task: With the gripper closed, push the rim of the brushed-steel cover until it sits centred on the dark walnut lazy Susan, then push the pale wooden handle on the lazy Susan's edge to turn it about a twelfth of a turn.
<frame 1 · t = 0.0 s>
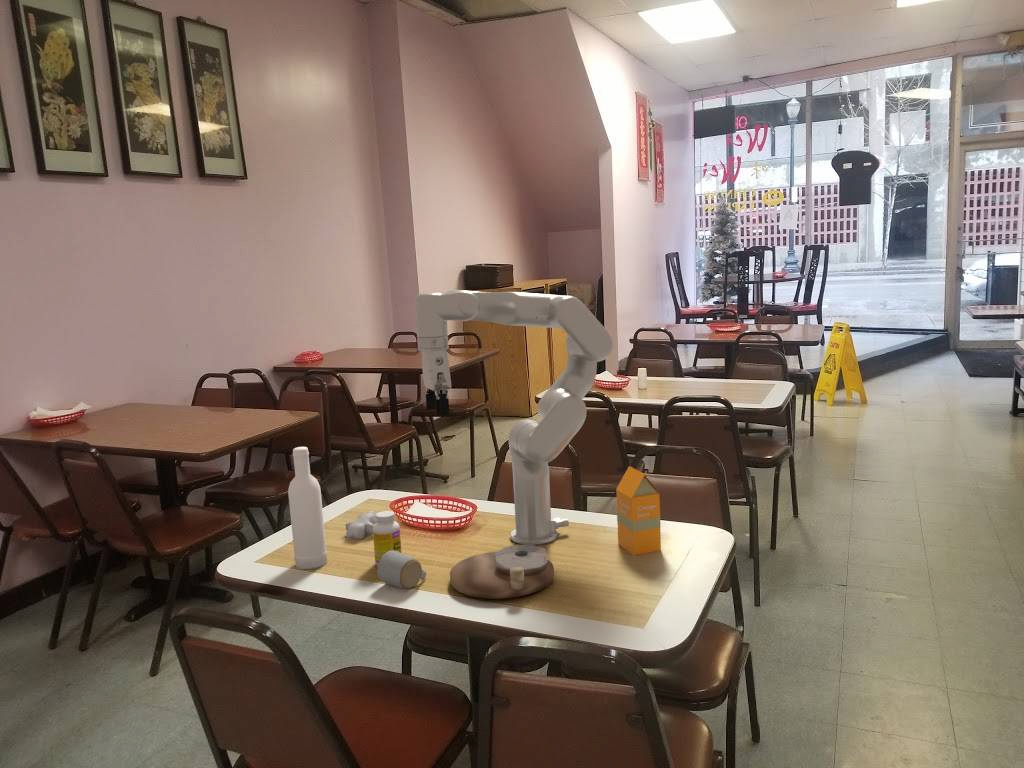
hand: (437, 411, 192), 37 cm above the table, tool pointing down, fingers open, 9 cm apart
steel cover: (522, 566, 180), point 2 cm above the table, touching lazy susan
supplement bottle: (389, 564, 193), on the table
ceramic mug: (405, 584, 181), on the table
lazy susan: (501, 564, 178), point 4 cm above the table, hinge at 0.0°, touching steel cover
bottle: (311, 564, 196), on the table
bunny figurine: (367, 533, 217), on the table
orange juice: (639, 547, 195), on the table
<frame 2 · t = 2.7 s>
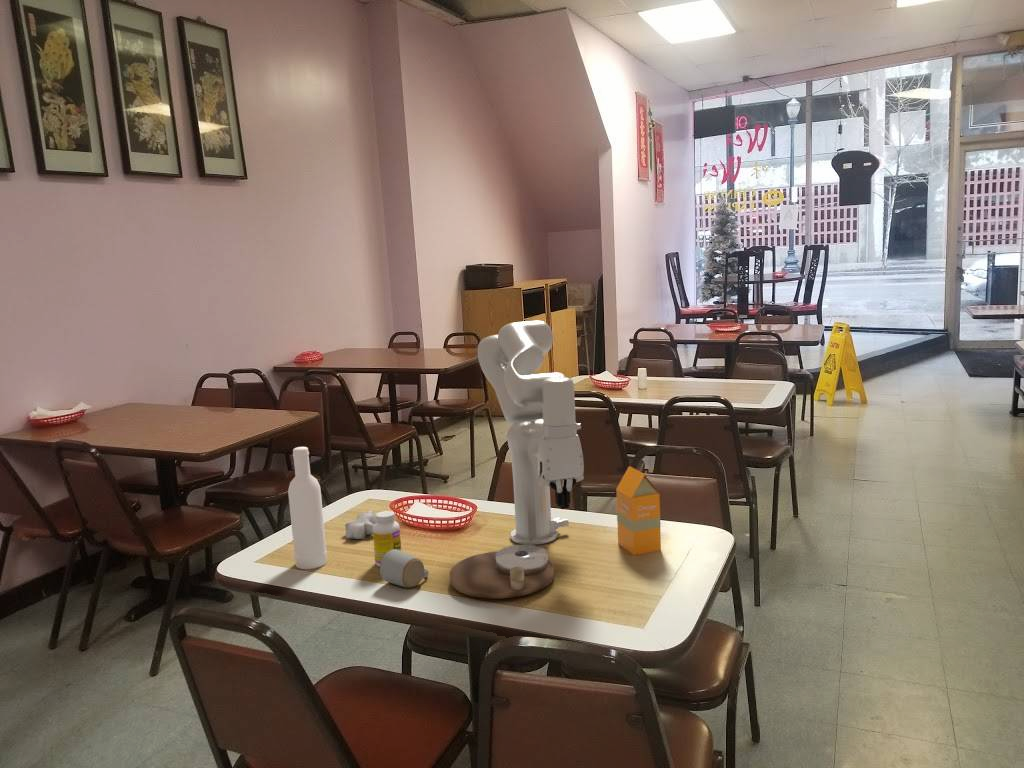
hand: (563, 507, 182), 15 cm above the table, tool pointing down, fingers closed
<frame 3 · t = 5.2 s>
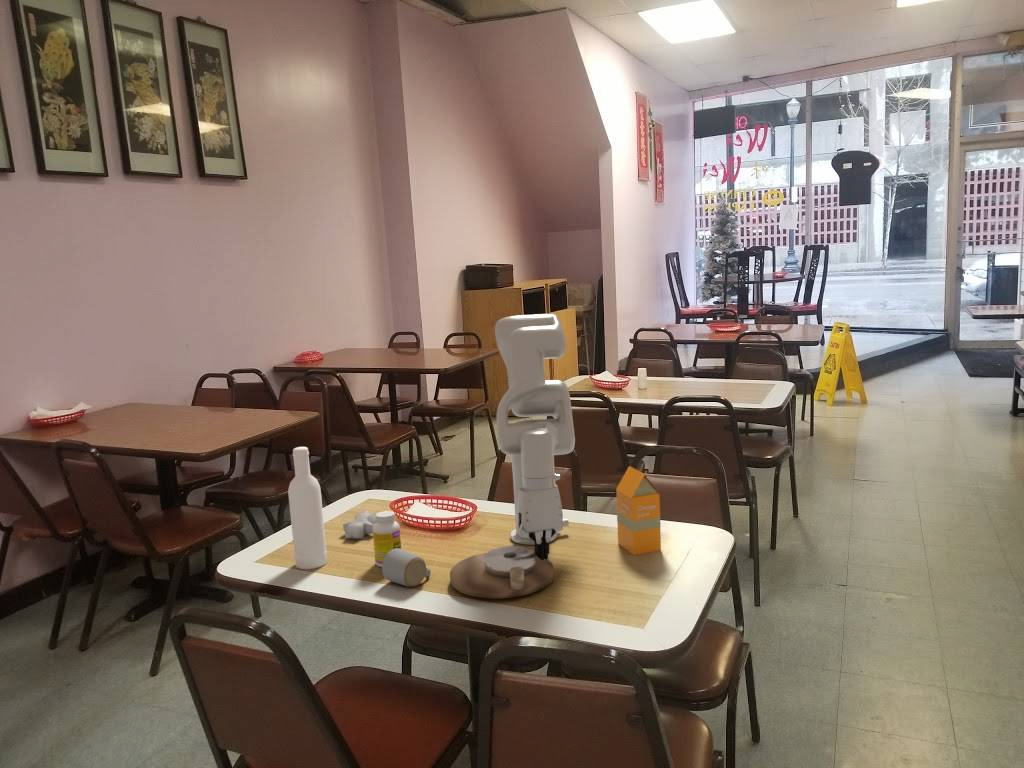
hand: (542, 557, 182), 4 cm above the table, tool pointing down, fingers closed
steel cover: (510, 567, 180), point 2 cm above the table, touching lazy susan
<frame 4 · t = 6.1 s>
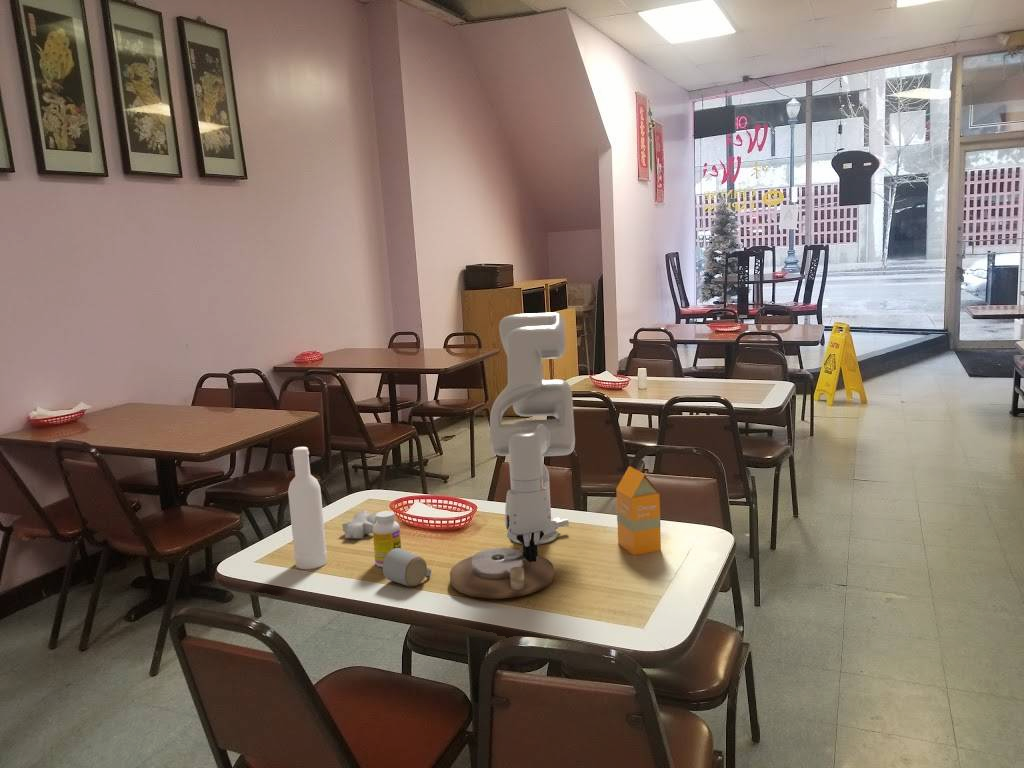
hand: (530, 559, 181), 4 cm above the table, tool pointing down, fingers closed
steel cover: (498, 569, 179), point 2 cm above the table, touching lazy susan
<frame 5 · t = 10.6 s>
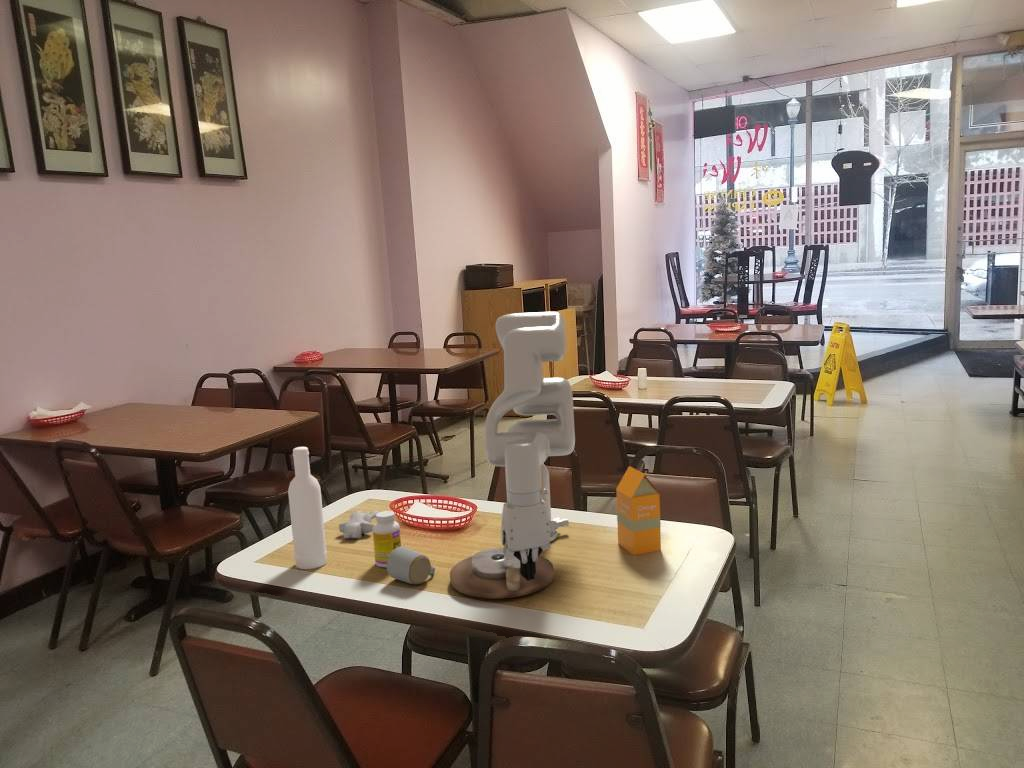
hand: (528, 577, 169), 4 cm above the table, tool pointing down, fingers closed
ceramic mug: (414, 579, 183), on the table
lazy susan: (501, 564, 178), point 4 cm above the table, hinge at -5.1°, touching gripper, steel cover
bunny figurine: (360, 532, 218), on the table
everything else where it was.
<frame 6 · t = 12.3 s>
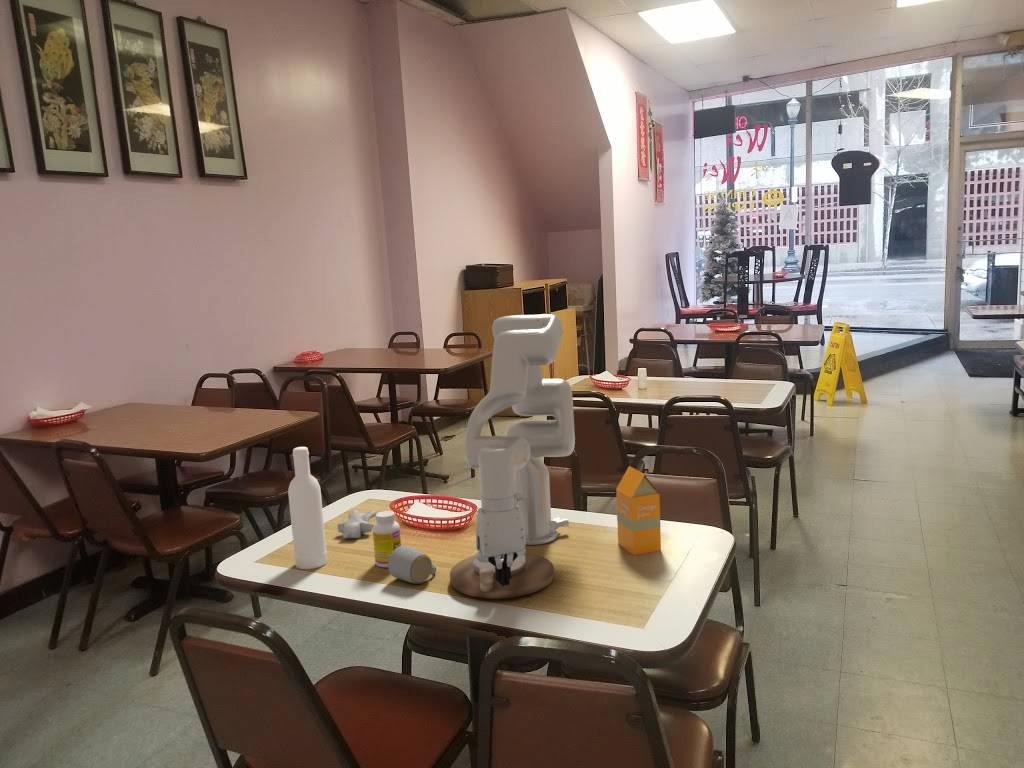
hand: (503, 583, 168), 4 cm above the table, tool pointing down, fingers closed
lazy susan: (501, 564, 178), point 4 cm above the table, hinge at -36.9°, touching gripper, steel cover
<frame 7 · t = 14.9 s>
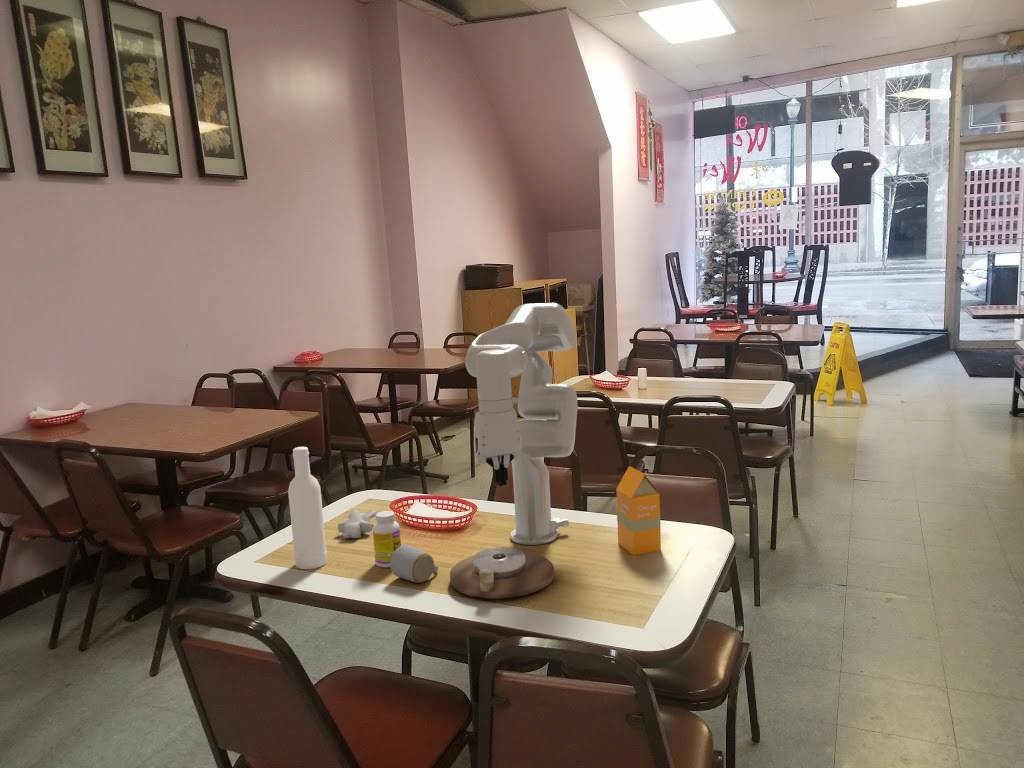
hand: (500, 484, 176), 23 cm above the table, tool pointing down, fingers closed
lazy susan: (501, 564, 178), point 4 cm above the table, hinge at -36.9°, touching steel cover
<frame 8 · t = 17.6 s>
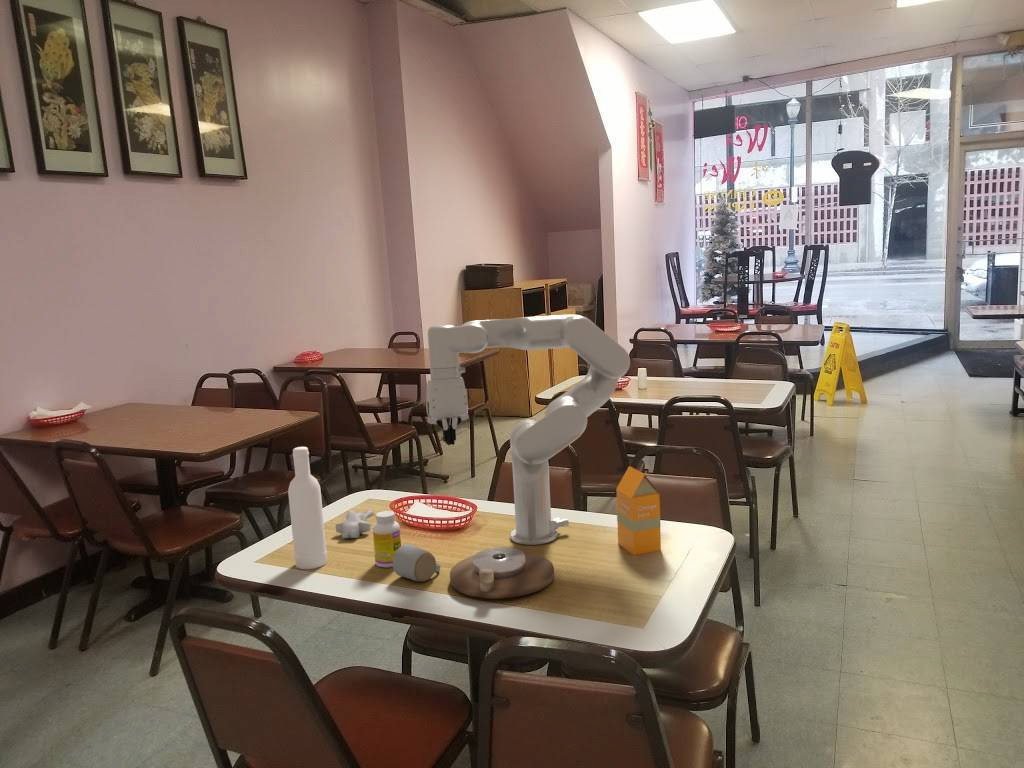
hand: (450, 443, 200), 27 cm above the table, tool pointing down, fingers closed
at the end: steel cover 0.8 cm from the lazy susan (horizontally); steel cover tilted 0°; lazy susan at -37° (first picture: +0°) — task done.
